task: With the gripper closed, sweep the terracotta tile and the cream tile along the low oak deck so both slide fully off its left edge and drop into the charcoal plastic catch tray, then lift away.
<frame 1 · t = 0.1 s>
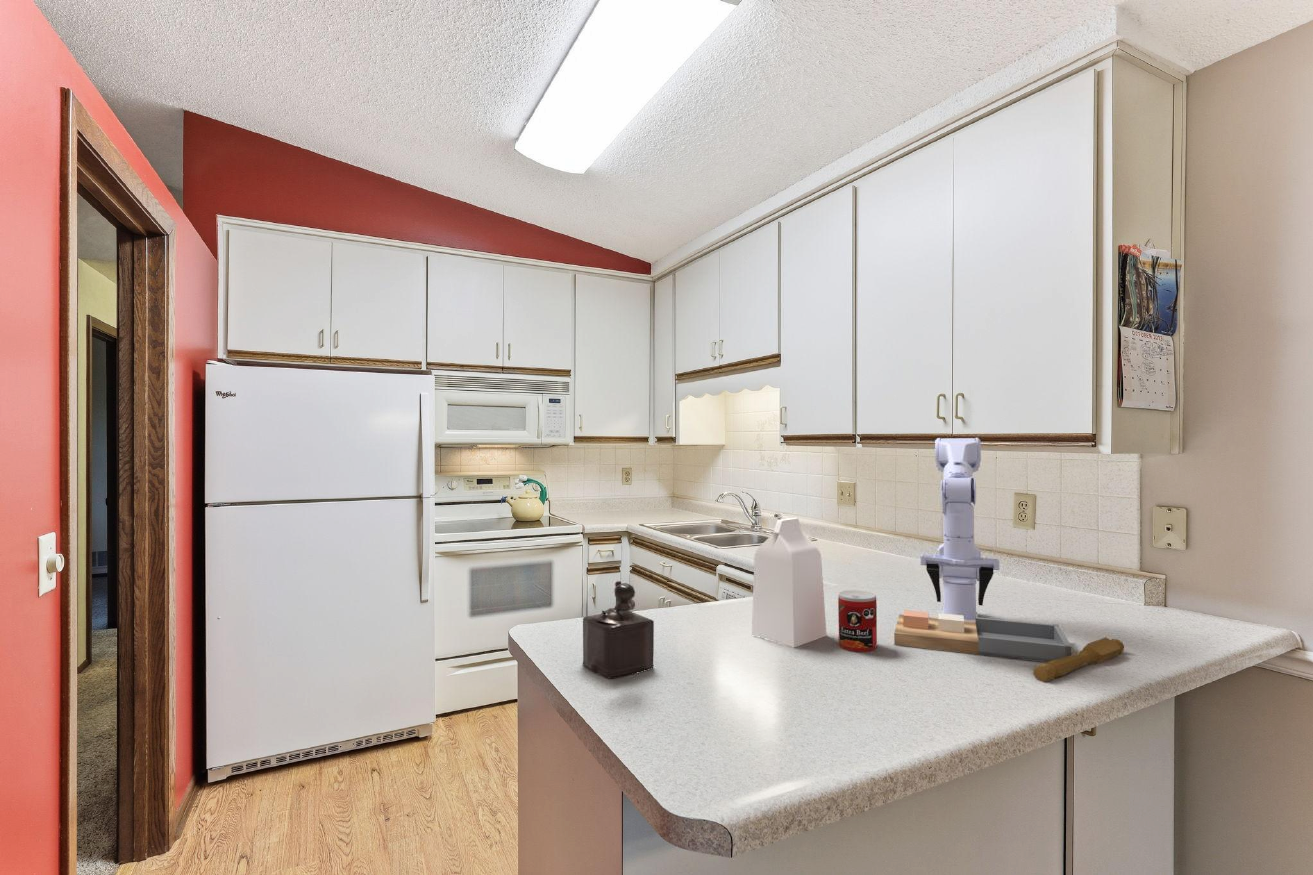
hand: (959, 602, 132), 10 cm above the worktop, fingers open, 7 cm apart
milk: (789, 636, 144), on the worktop
tap handle: (1077, 665, 124), on the worktop, touching tray
tile a: (916, 625, 142), point 2 cm above the worktop, touching deck
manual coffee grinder: (623, 671, 123), on the worktop
canned food: (857, 647, 136), on the worktop
tray: (1019, 647, 134), on the worktop
tile b: (951, 628, 139), point 2 cm above the worktop, touching deck
deck: (936, 638, 140), on the worktop
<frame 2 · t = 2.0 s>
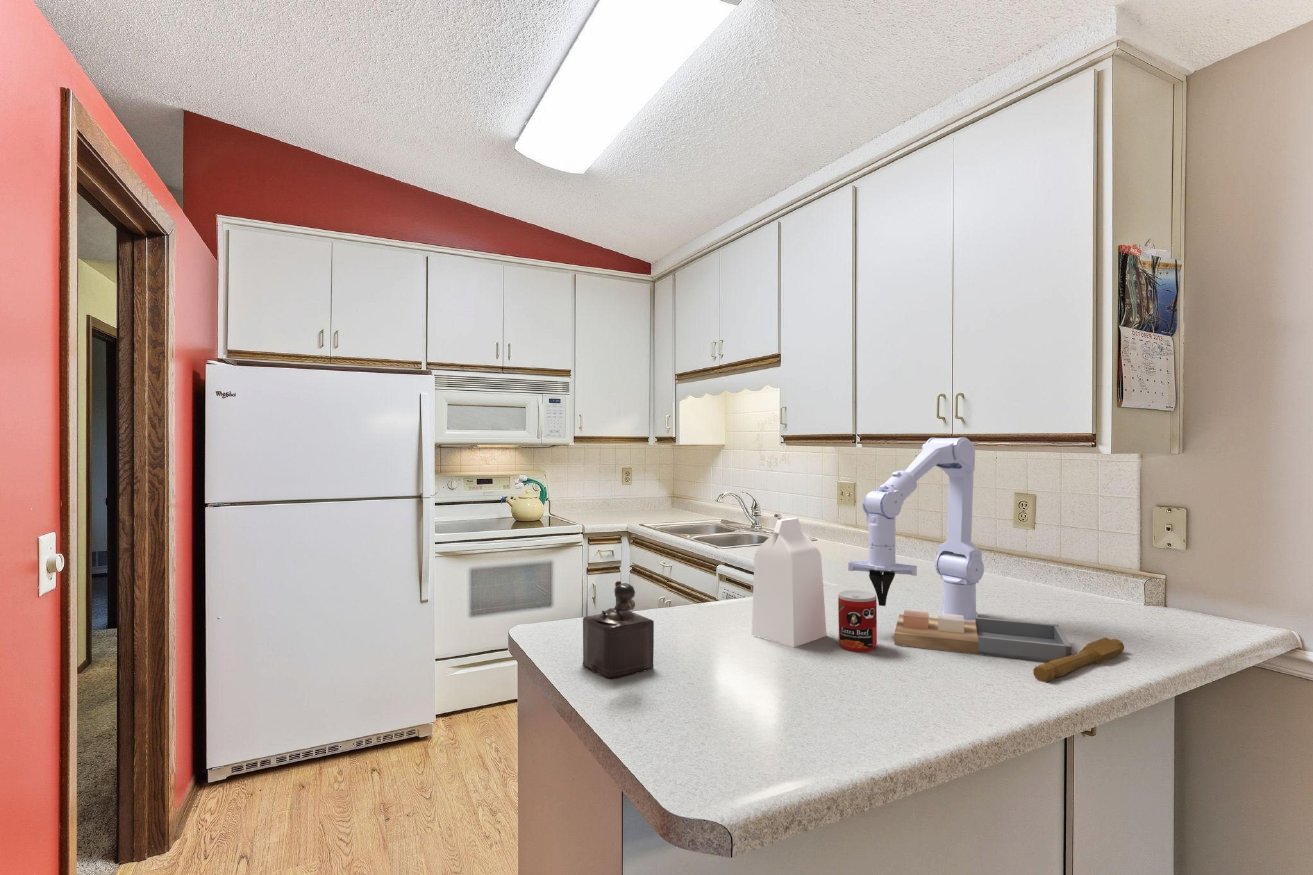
hand: (882, 604, 145), 6 cm above the worktop, fingers closed
nothing on the worktop moved.
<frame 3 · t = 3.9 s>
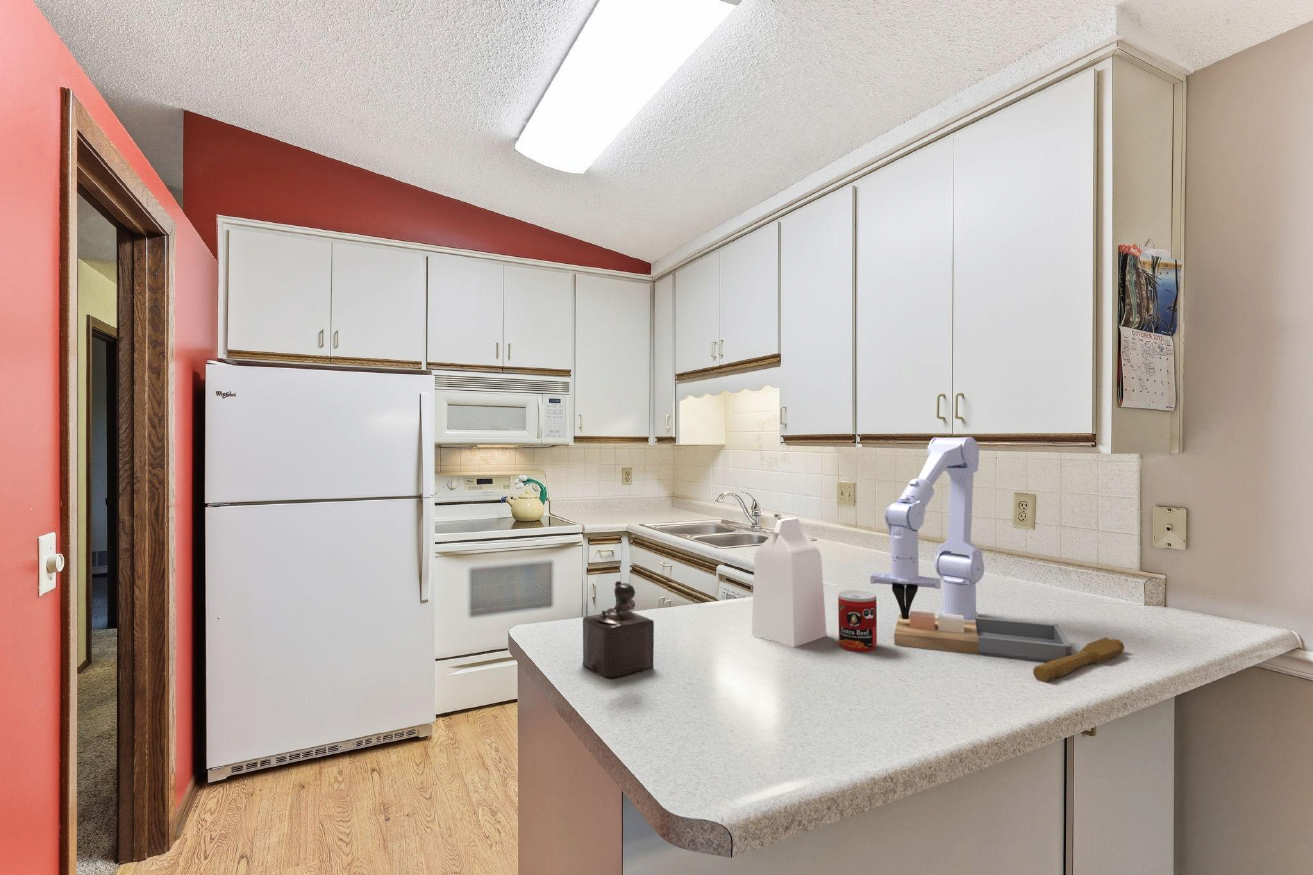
hand: (905, 618, 143), 4 cm above the worktop, fingers closed
tile a: (922, 625, 142), point 3 cm above the worktop, touching gripper
everything else where it was.
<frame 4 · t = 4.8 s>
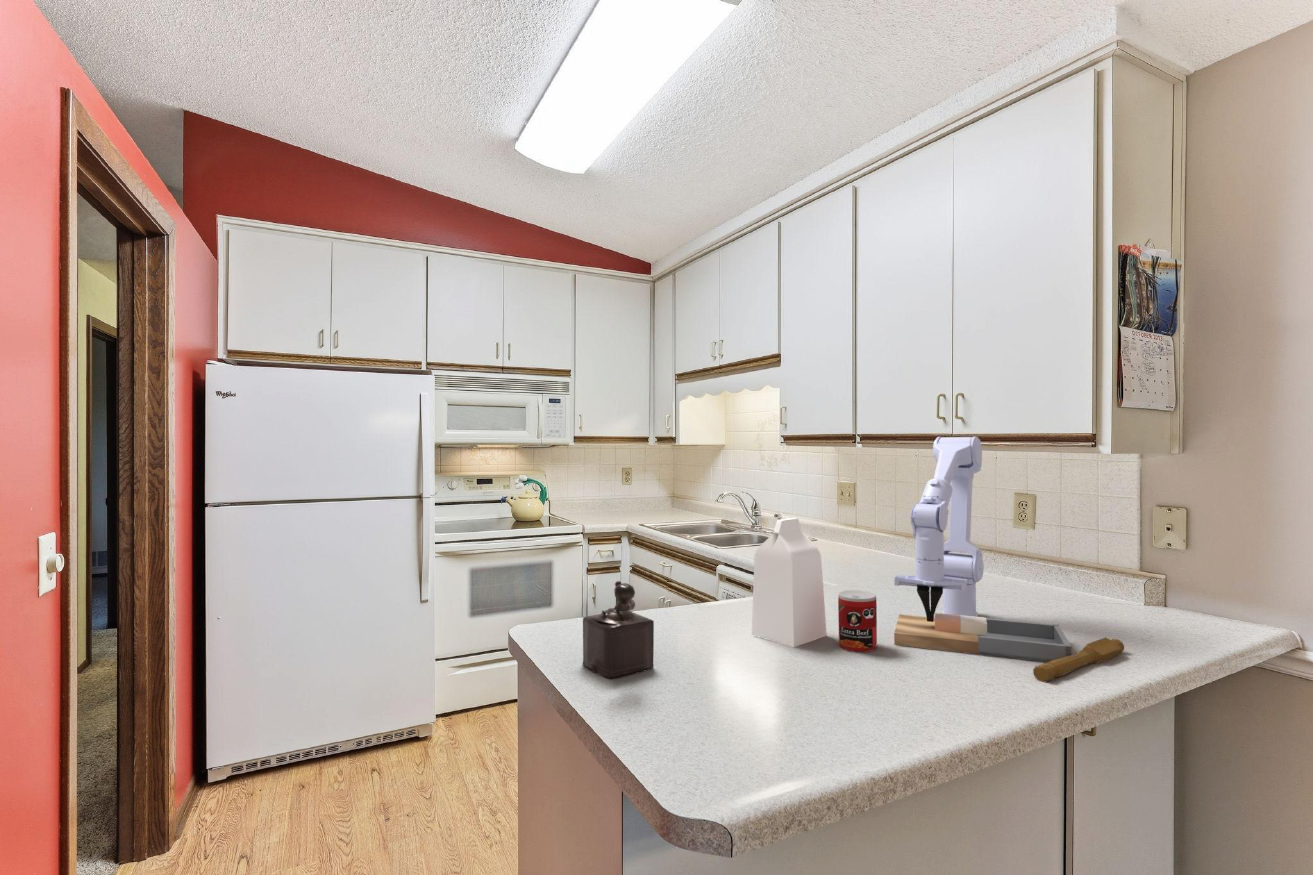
hand: (930, 620, 141), 4 cm above the worktop, fingers closed
tile a: (947, 628, 139), point 3 cm above the worktop, touching gripper, tile b
tile b: (973, 630, 137), point 3 cm above the worktop, touching tile a
everything else where it was.
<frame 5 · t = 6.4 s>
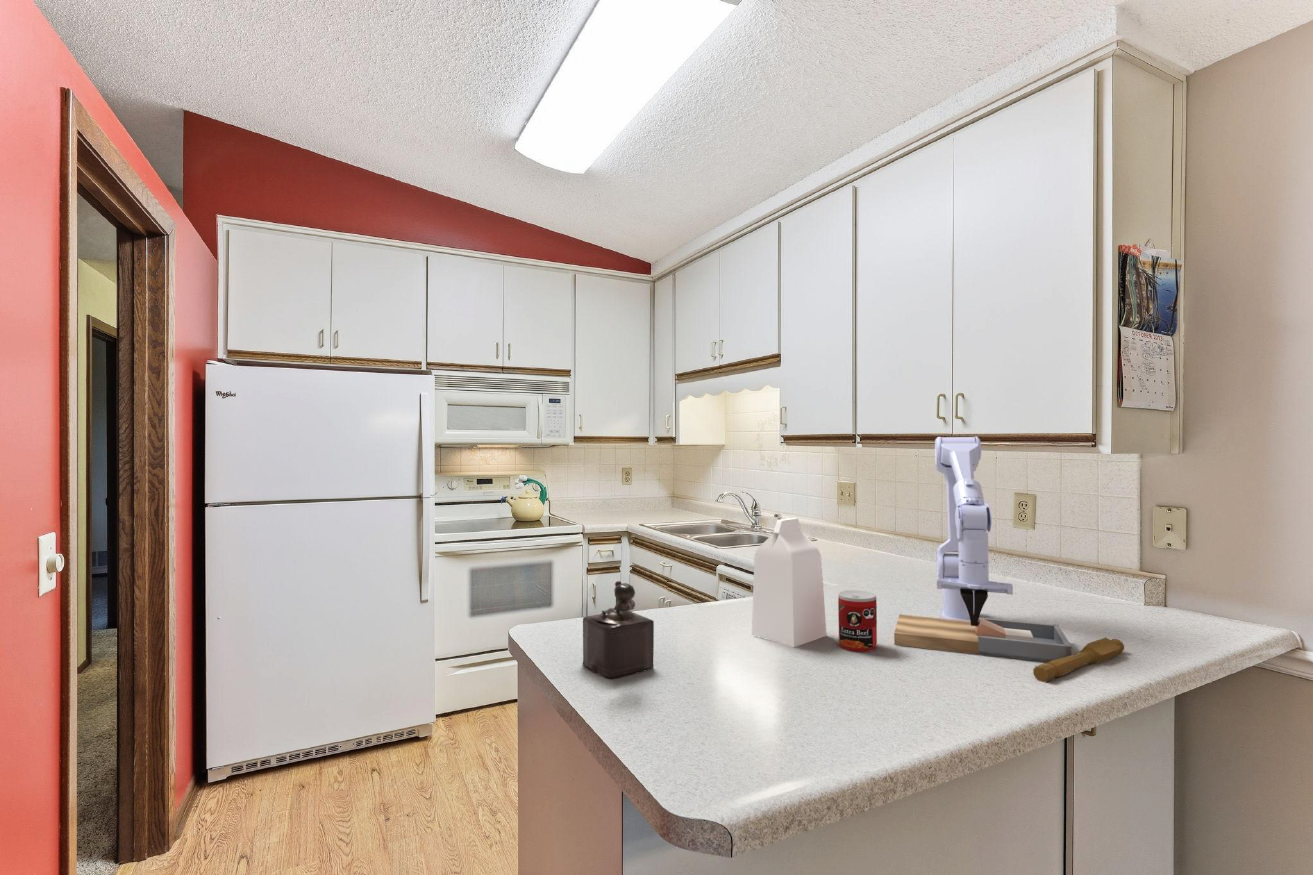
hand: (974, 624, 137), 4 cm above the worktop, fingers closed
tile a: (987, 636, 136), point 2 cm above the worktop, tilted 21°, touching gripper, tile b
tile b: (1018, 644, 134), point 1 cm above the worktop, touching tile a, tray
everything else where it was.
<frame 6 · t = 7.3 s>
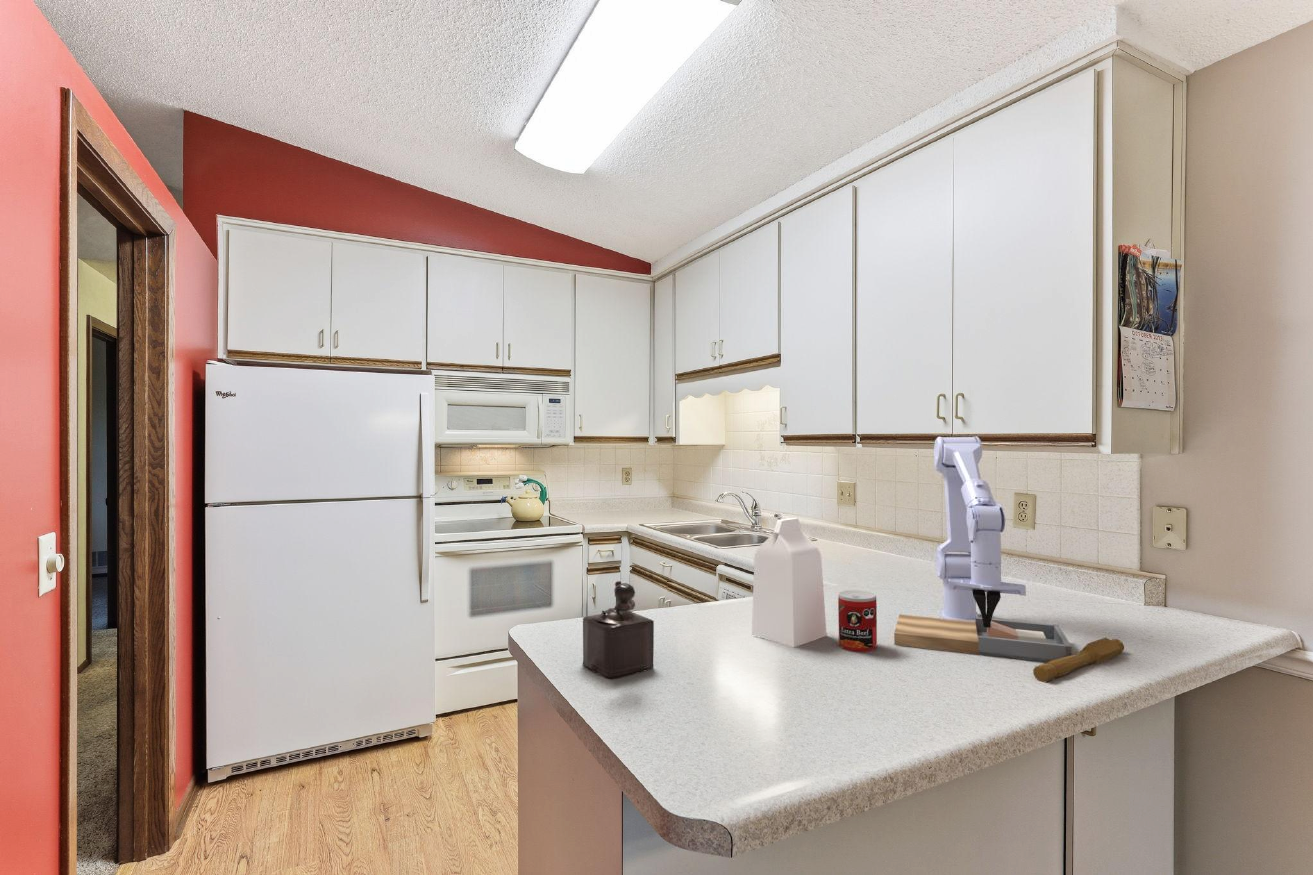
hand: (986, 626, 136), 4 cm above the worktop, fingers closed
tile a: (1000, 639, 135), point 1 cm above the worktop, tilted 16°, touching gripper, tile b, tray
tile b: (1030, 645, 133), point 1 cm above the worktop, touching tile a, tray
everything else where it was.
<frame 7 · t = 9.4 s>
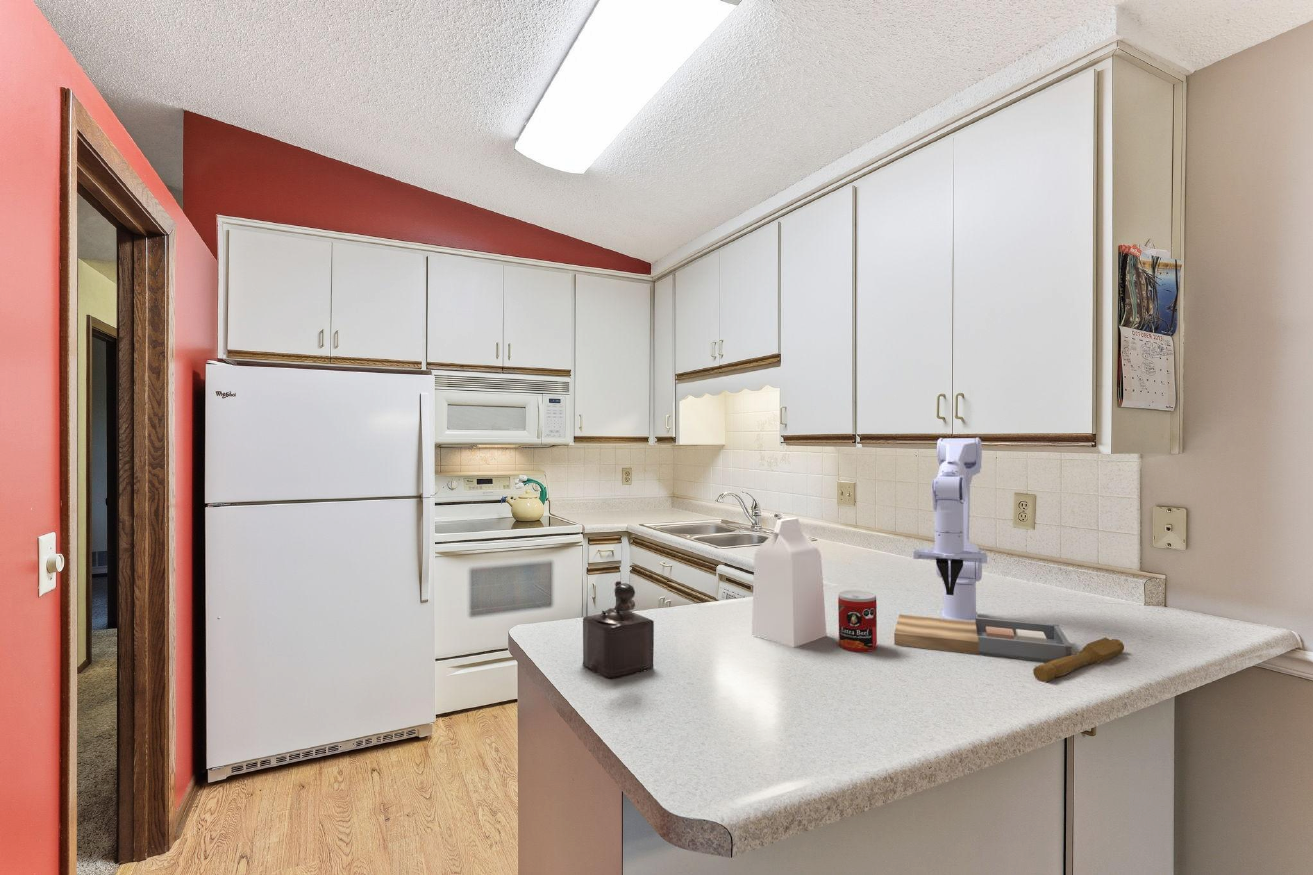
hand: (949, 594, 140), 10 cm above the worktop, fingers closed
tile a: (999, 642, 135), point 1 cm above the worktop, touching tray
tile b: (1031, 645, 133), point 1 cm above the worktop, touching tray
everything else where it was.
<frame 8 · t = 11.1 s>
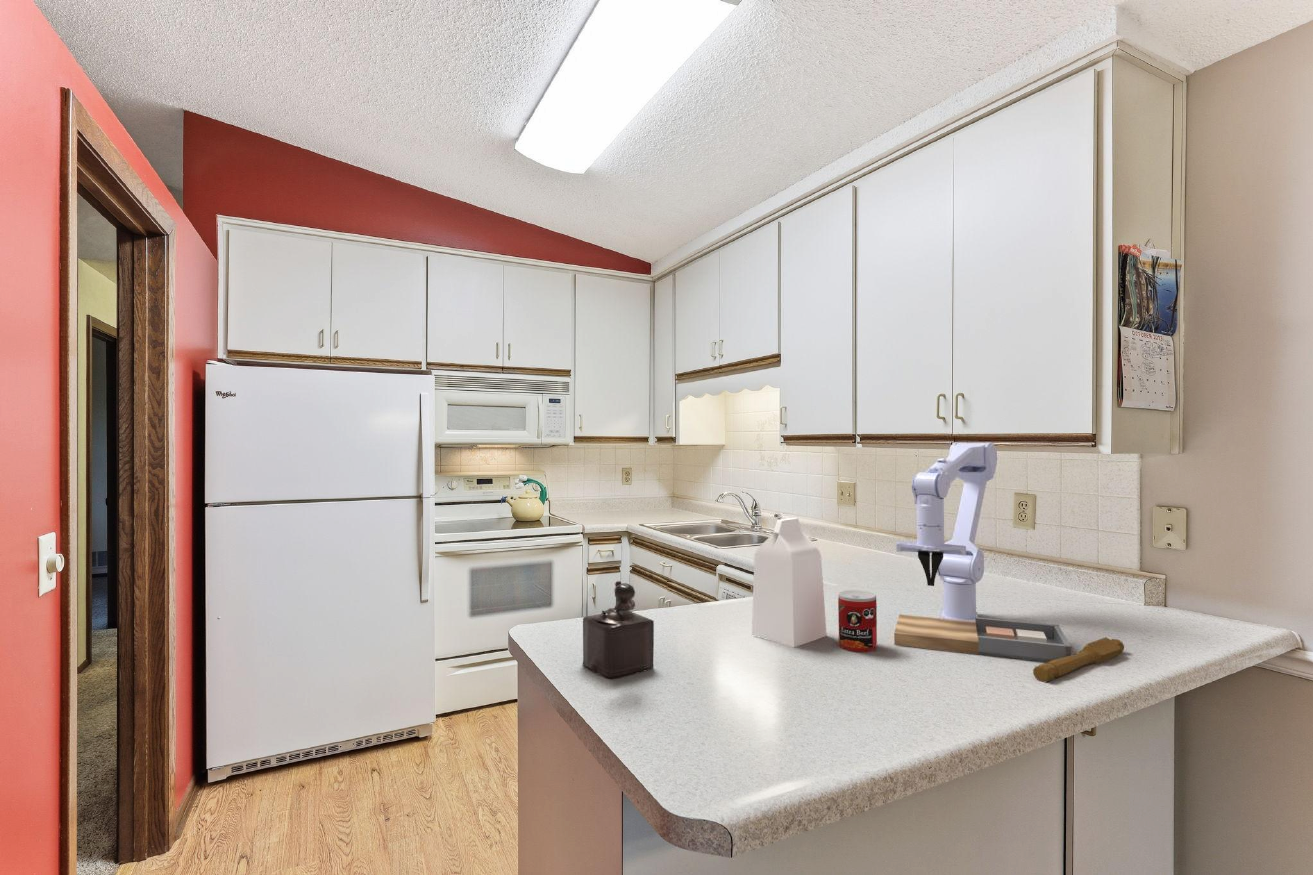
hand: (930, 584, 146), 10 cm above the worktop, fingers closed
nothing on the worktop moved.
at the end: tile a inside the target area on the tray (3.5 cm from its centre), point 0.6 cm above the tray's base; tile b inside the target area on the tray (2.2 cm from its centre), point 0.6 cm above the tray's base; tile a touching tray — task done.
